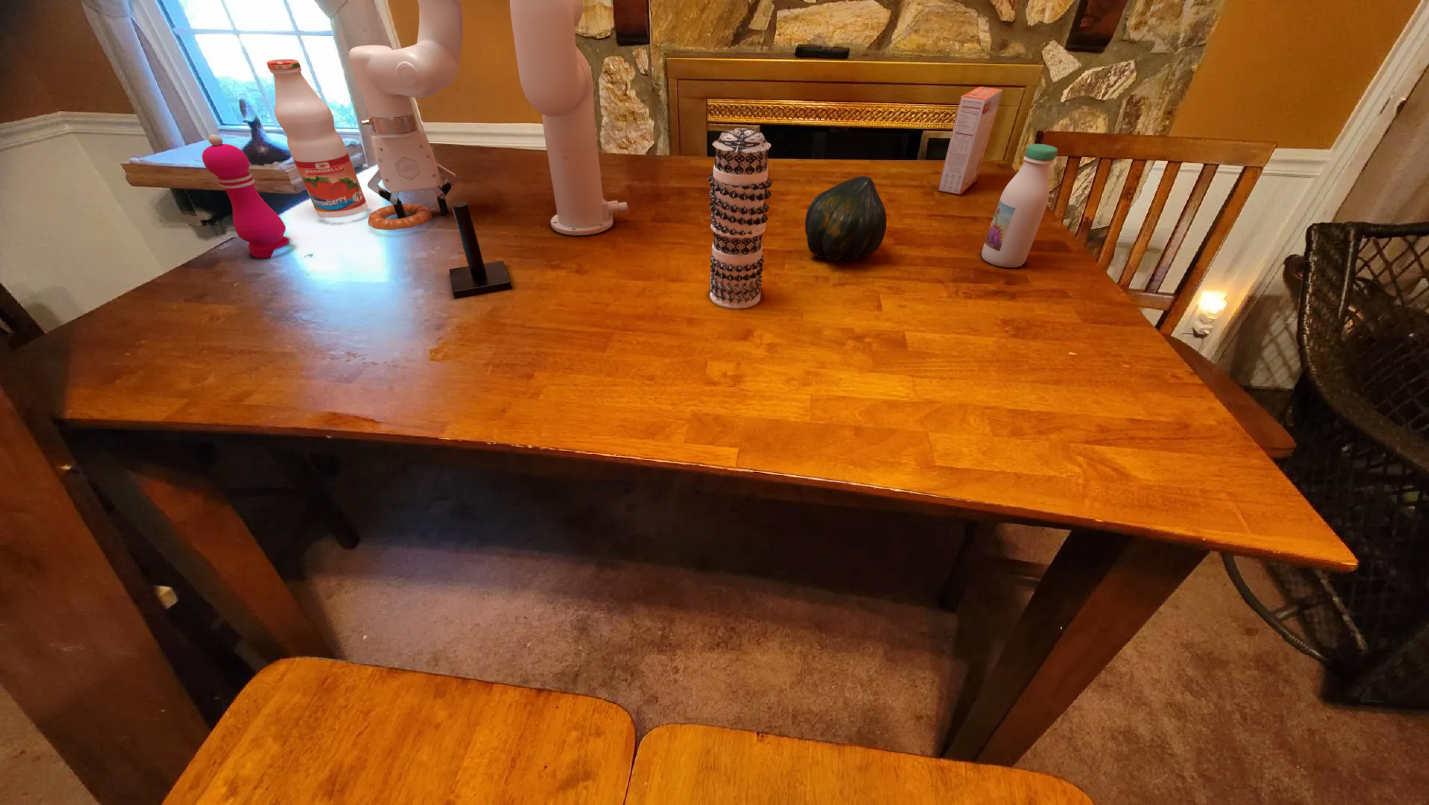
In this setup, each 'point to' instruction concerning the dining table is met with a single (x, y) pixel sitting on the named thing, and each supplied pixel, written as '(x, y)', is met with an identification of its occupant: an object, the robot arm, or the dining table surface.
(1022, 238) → the milk bottle
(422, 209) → the ring
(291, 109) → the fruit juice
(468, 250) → the stand
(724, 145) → the decorative candle
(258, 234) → the pepper mill
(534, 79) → the robot arm
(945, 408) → the dining table surface
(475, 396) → the dining table surface
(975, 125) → the cracker box
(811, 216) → the squash
